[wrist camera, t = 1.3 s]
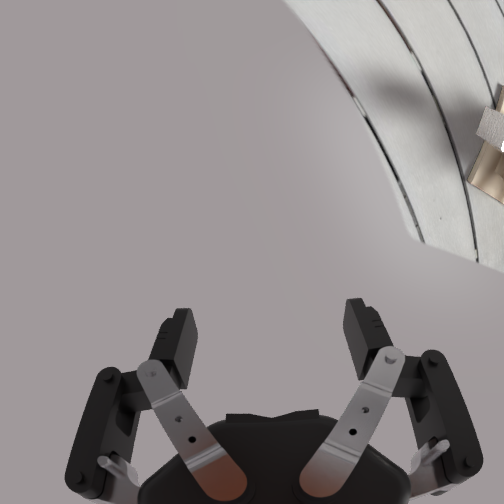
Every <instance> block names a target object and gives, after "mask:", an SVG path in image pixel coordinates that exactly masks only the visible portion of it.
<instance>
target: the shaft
mask: <svg viewBox="0 0 504 504" xmlns="http://www.w3.org/2000/svg"><path fill="white" fill-rule="evenodd" d="M476 135H478V136H479V137H481V138H482V139H483V140H485V141H486V142H487V143H489V144H490V145H491V146H493V147H494V148H495V149H497V150H498V151H500V152H502V153H503V154H504V114H502V113H500V112H498V111H496V110H493V109H491V108H489V107H485V110H484V113H483V116H482V119H481V122H480V124H479V127H478V130H477V132H476Z"/></svg>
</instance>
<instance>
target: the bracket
mask: <svg viewBox="0 0 504 504" xmlns="http://www.w3.org/2000/svg"><path fill="white" fill-rule="evenodd" d="M496 111H498V112H500V113H502V114H504V86H503V87H502V90H501V94H500V97H499V101H498V104H497V107H496ZM467 181H469V182H470V183H471V184H472V185H474V186H476V187H477V188H479V189H481V190H482V191H484V192H486V193H487V194H489V195H490V196H492V197H494V198H495V199H497V200H498V201H500V202H501V203H503V204H504V154H503V153H502V152H500V151H498V150H497V149H495V148H494V147H493V146H491V145H490V144H489V143H487V142H486V141H484V143H483V146H482V148H481V150H480V153H479V155H478V158H477V160H476V162H475V164H474V167H473V169H472V171H471V173H470V175H469V177H468V180H467Z"/></svg>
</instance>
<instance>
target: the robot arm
mask: <svg viewBox="0 0 504 504" xmlns="http://www.w3.org/2000/svg"><path fill="white" fill-rule="evenodd" d="M343 329H344V334H345V337H346V340H347V343H348V346H349V350H350V353H351V356H352V360H353V363H354V366H355V369H356V373H357V377H358V380H364V381H363V382H361V383H360V385H359V387H358V389H357V391H356V392H355V394H354V396H353V397H352V399H351V401H350V403H349V404H348V406H347V408H346V409H345V411H344V413H343V414H342V416H341V417H340V419H339V420H336V419H334V418H331V417H328V416H323V415H319V411H318V409H315V410H305V411H295V412H292V413H289V414H285V415H282V416H278V417H274V418H269V417H263V416H257V415H253V414H226V420H222V421H219V422H216V423H214V424H212V425H210V426H208V427H206V426H205V425H204V423H203V422H202V421H201V419H200V418H199V416H198V415H197V414H196V412H195V411H194V410H193V408H192V407H191V406H190V404H189V402H188V401H187V399H186V398H185V396H184V395H183V393H182V392H181V391H179V390H180V389H187V386H188V381H189V376H190V372H191V367H192V362H193V358H194V353H195V348H196V344H197V339H198V333H197V328H196V324H195V321H194V317H193V313H192V310H191V309H190V308H177V309H176V310H175V313H174V316H173V318H167V319H166V320H165V321H164V322H163V323H162V325H161V327H160V329H159V333H158V335H157V339H156V340H155V343H154V346H153V348H152V351H151V354H150V357H149V359H148V360H147V361H145V362H143V363H142V364H141V365H140V366H139V367H138V369H137V370H136V371H131V372H126V373H121V372H120V371H119V370H118V369H117V368H115V367H107V368H105V369H103V370H101V371H100V372H99V373H98V375H97V377H96V380H95V382H94V385H93V388H92V390H91V393H90V396H89V398H88V401H87V404H86V407H85V410H84V412H83V415H82V419H81V421H80V425H79V427H78V431H77V434H76V437H75V440H74V444H73V447H72V450H71V454H70V457H69V460H68V464H67V468H66V472H65V482H66V484H67V486H68V487H69V489H71V490H72V491H74V492H76V493H78V494H80V495H81V496H82V497H84V498H86V499H88V500H90V501H92V502H94V503H96V504H408V502H409V501H410V500H413V499H416V498H419V497H422V496H425V495H428V494H431V495H434V496H438V495H441V494H443V493H445V492H447V491H449V490H451V489H452V488H454V487H456V486H458V485H459V484H461V483H463V482H464V481H466V480H467V479H469V478H470V477H472V476H474V475H475V474H477V473H478V472H479V471H480V469H481V467H482V465H483V454H482V451H481V448H480V444H479V441H478V439H477V435H476V432H475V429H474V426H473V423H472V420H471V418H470V415H469V412H468V409H467V407H466V404H465V402H464V399H463V397H462V395H461V392H460V389H459V387H458V385H457V382H456V380H455V378H454V376H453V373H452V371H451V369H450V367H449V364H448V362H447V360H446V358H445V356H444V355H443V354H442V353H441V352H439V351H437V350H427V351H425V352H424V353H423V354H422V356H421V357H413V356H406V355H404V353H403V352H402V351H401V350H400V349H398V348H396V347H394V346H393V343H392V341H391V339H390V337H389V335H388V332H387V330H386V328H385V327H384V324H383V322H382V321H381V318H380V316H379V314H378V312H377V311H376V310H375V309H374V308H372V307H371V306H370V307H366V306H365V304H364V302H363V300H362V298H354V299H347V301H346V307H345V314H344V321H343ZM391 397H405V400H406V404H407V407H408V411H409V414H410V418H411V422H412V426H413V430H414V433H415V437H416V442H417V446H418V451H417V452H416V453H415V454H414V456H413V458H412V460H411V471H410V473H409V475H407V473H406V472H405V471H404V470H403V469H402V468H400V467H399V466H397V465H396V464H395V463H393V462H392V461H390V460H389V459H388V458H386V457H385V456H384V455H382V454H381V453H380V452H378V451H377V450H376V449H375V448H373V447H372V446H370V445H369V444H368V442H369V440H370V439H371V437H372V435H373V433H374V431H375V429H376V427H377V425H378V423H379V421H380V419H381V417H382V415H383V413H384V411H385V409H386V407H387V404H388V402H389V400H390V398H391ZM149 409H153V410H154V412H155V414H156V416H157V418H158V419H159V421H160V423H161V425H162V427H163V428H164V430H165V432H166V433H167V435H168V437H169V438H170V440H171V442H172V443H173V445H174V447H175V448H176V450H177V451H178V454H177V455H175V456H174V457H173V458H172V459H171V460H170V461H168V462H167V463H166V464H165V465H164V466H163V467H161V468H160V469H159V470H158V471H157V472H155V473H154V474H153V475H152V476H151V477H149V478H148V479H147V480H146V481H145V482H144V483H143V484H142V485H141V487H140V485H139V483H138V475H137V471H136V470H135V468H134V467H132V465H130V462H131V457H132V452H133V446H134V441H135V437H136V431H137V427H138V422H139V418H140V413H141V411H143V410H149Z"/></svg>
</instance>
